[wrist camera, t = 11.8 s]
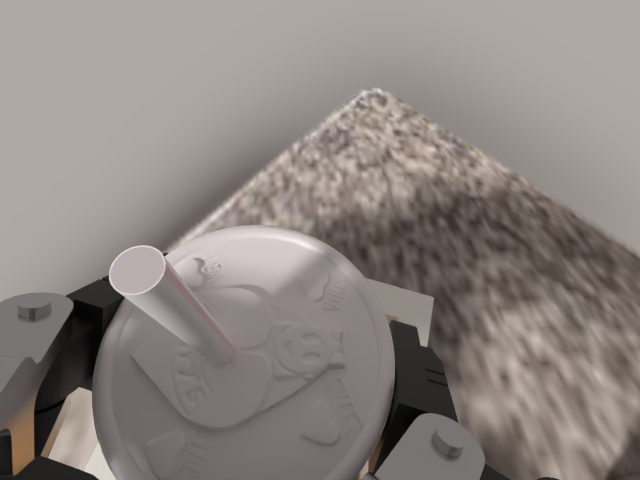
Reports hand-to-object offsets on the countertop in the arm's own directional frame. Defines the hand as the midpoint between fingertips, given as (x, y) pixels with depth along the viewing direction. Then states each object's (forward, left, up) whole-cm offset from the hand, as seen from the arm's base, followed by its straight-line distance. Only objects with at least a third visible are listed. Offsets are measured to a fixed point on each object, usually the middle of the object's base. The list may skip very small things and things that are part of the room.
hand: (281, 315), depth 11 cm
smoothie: (0, +2, -7) cm, 7 cm away
